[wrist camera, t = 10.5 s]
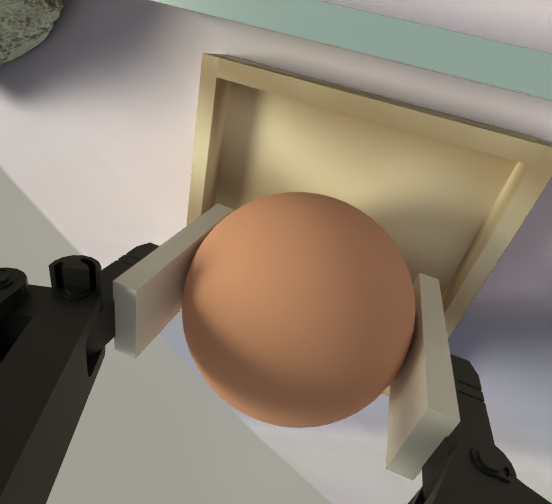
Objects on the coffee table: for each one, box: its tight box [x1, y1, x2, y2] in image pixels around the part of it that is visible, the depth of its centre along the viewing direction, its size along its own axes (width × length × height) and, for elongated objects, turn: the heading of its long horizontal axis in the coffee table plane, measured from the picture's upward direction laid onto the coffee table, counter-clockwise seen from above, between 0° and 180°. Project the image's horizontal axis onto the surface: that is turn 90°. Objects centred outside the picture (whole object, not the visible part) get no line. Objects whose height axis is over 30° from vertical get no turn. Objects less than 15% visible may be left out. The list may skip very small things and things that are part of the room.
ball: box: [182, 192, 416, 428], centre depth 13 cm, size 8×8×8 cm
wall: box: [151, 0, 552, 100], centre depth 12 cm, size 1×17×4 cm, turn 77°
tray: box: [179, 53, 552, 396], centre depth 17 cm, size 13×13×2 cm
